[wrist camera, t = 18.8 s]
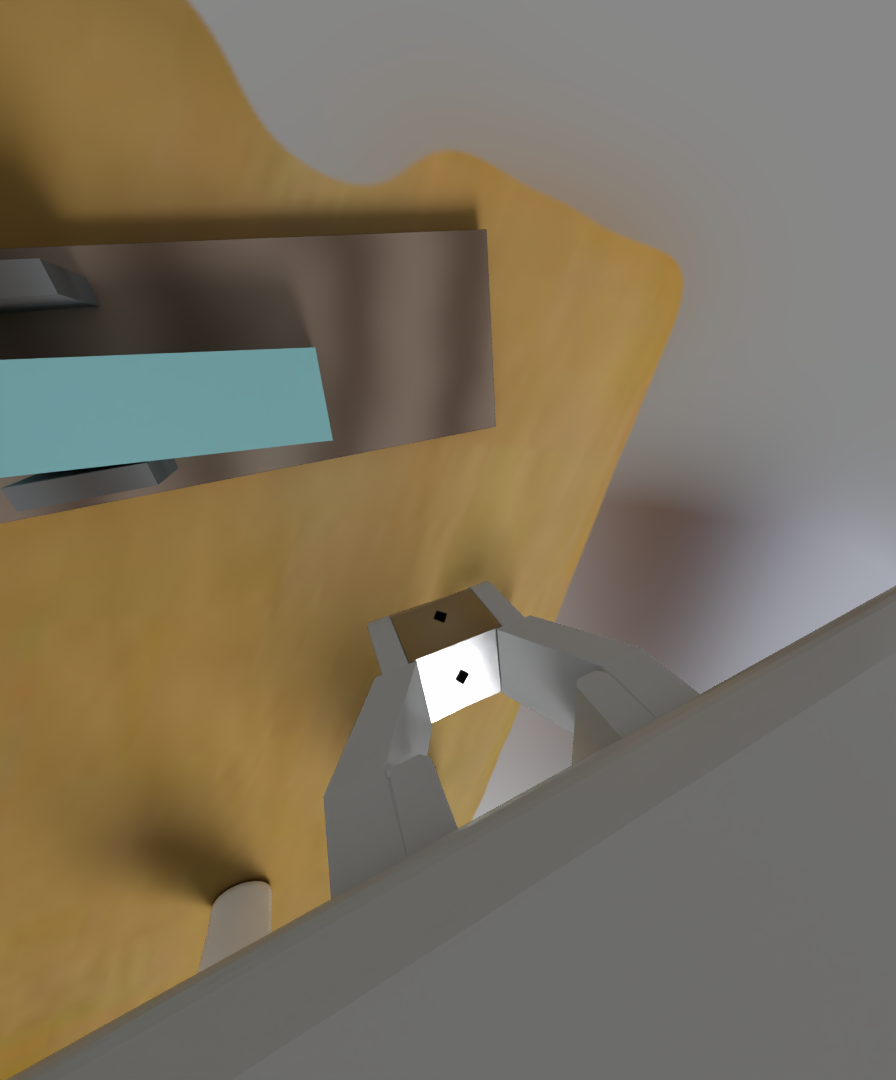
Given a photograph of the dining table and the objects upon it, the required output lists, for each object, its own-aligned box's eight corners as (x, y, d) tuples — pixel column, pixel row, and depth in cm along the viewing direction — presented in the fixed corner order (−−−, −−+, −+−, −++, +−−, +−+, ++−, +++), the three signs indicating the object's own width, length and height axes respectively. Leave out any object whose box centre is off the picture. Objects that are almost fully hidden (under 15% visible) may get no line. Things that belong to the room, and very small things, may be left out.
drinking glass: (192, 920, 35) (128, 1237, 22) (219, 876, 34) (168, 1185, 21) (264, 910, 38) (244, 1180, 26) (291, 869, 37) (285, 1132, 24)
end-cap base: (-156, 548, 16) (-395, 644, 11) (-444, 275, 11) (-1152, 191, 6) (488, 424, 24) (543, 441, 19) (478, 235, 19) (547, 183, 14)
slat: (-189, 485, 14) (-295, 511, 12) (-288, 375, 12) (-439, 377, 10) (329, 430, 20) (332, 440, 17) (313, 349, 18) (315, 347, 16)
